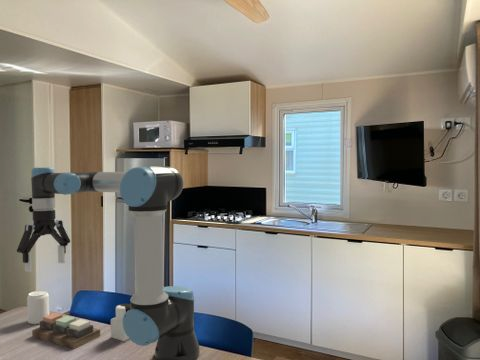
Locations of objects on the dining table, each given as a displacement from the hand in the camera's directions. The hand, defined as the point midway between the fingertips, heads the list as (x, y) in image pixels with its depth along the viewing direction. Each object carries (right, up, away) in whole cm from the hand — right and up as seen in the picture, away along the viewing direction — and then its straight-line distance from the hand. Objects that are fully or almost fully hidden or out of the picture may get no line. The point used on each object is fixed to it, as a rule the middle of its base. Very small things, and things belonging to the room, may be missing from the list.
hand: (45, 267), depth 147 cm
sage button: (+5, -24, +6) cm, 25 cm away
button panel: (+5, -28, +6) cm, 29 cm away
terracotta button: (-2, -23, +9) cm, 25 cm away
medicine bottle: (+27, -28, +5) cm, 39 cm away
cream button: (+12, -24, +2) cm, 26 cm away
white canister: (-13, -28, +21) cm, 37 cm away
